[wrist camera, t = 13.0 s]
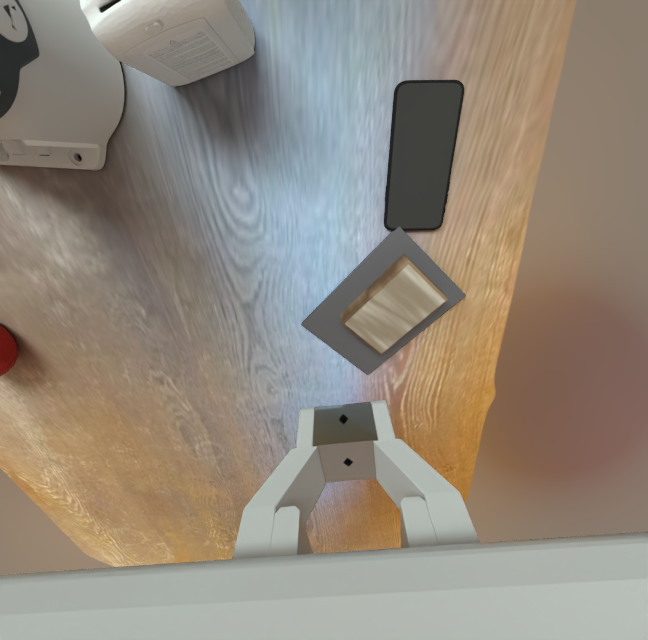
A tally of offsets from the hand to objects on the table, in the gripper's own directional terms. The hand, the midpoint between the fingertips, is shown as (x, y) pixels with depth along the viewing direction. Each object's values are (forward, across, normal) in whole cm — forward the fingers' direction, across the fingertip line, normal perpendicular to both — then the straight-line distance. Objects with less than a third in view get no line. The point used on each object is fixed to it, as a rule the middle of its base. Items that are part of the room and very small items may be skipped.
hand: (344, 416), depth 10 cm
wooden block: (+29, -2, +15) cm, 32 cm away
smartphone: (+32, -11, -6) cm, 34 cm away
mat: (+31, -6, +12) cm, 34 cm away
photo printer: (+31, +10, -19) cm, 38 cm away
